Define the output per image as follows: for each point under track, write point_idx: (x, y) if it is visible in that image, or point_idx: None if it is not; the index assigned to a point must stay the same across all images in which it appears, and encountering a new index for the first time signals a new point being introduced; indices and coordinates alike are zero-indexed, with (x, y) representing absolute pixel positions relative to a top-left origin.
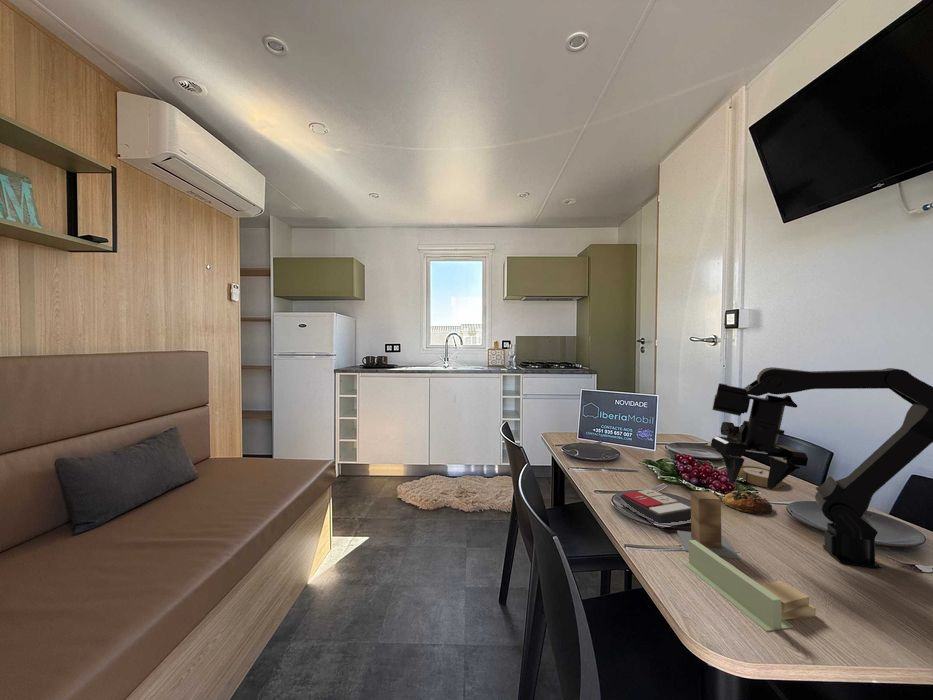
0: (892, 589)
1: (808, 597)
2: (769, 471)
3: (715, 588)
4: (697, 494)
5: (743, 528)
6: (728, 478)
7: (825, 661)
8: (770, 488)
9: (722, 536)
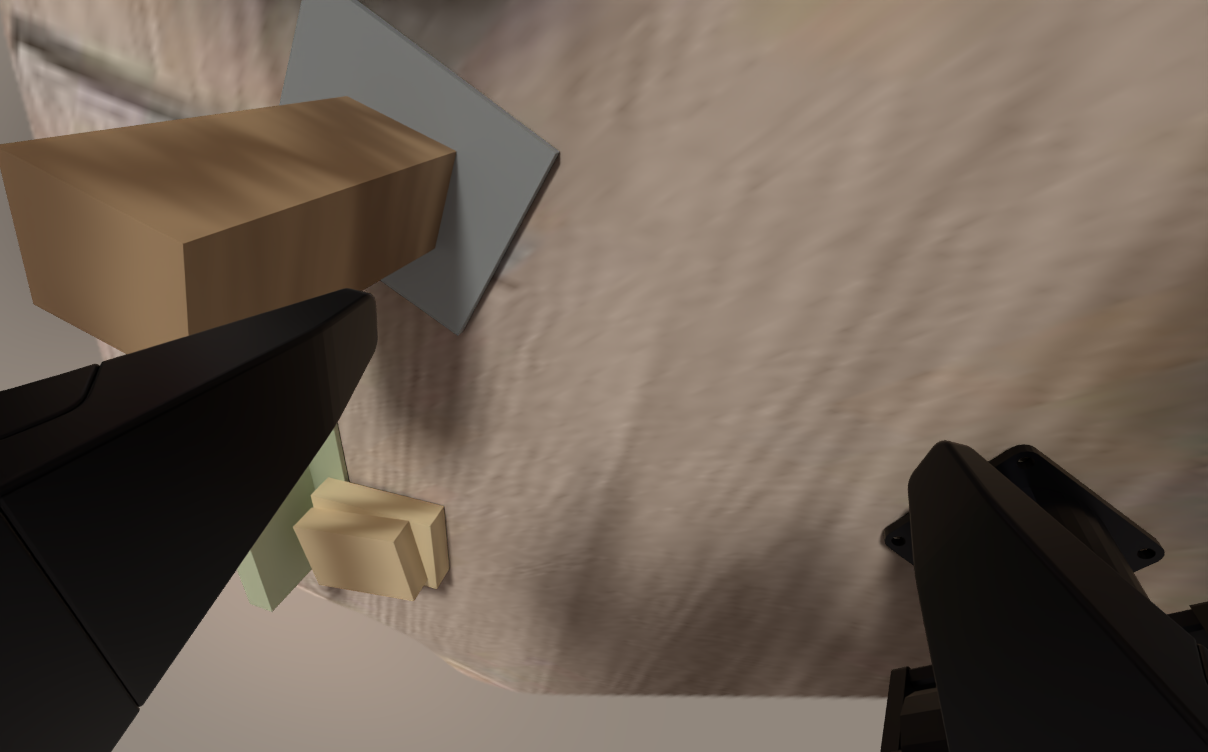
0: (834, 647)
1: (410, 599)
2: (1131, 654)
3: None
4: (41, 236)
5: (829, 74)
6: (306, 308)
7: (354, 607)
8: (910, 483)
9: (540, 146)
